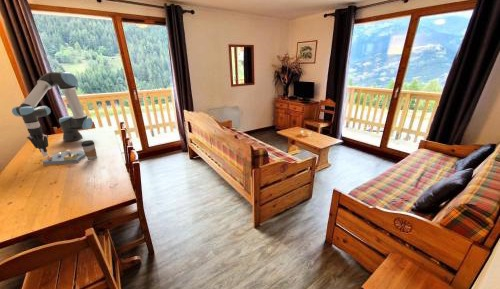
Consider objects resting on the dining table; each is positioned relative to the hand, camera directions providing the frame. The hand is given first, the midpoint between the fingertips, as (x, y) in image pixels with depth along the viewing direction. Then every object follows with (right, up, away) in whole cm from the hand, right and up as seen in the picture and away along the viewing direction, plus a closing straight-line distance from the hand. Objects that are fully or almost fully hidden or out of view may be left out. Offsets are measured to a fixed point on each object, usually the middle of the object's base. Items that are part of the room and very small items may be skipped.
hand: (45, 155), depth 166 cm
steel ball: (+10, +1, +1) cm, 10 cm away
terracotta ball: (+8, -2, -5) cm, 9 cm away
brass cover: (+23, -2, -2) cm, 23 cm away
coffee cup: (+35, -3, +3) cm, 35 cm away
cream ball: (+12, +3, +7) cm, 14 cm away
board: (+15, -3, +4) cm, 15 cm away
